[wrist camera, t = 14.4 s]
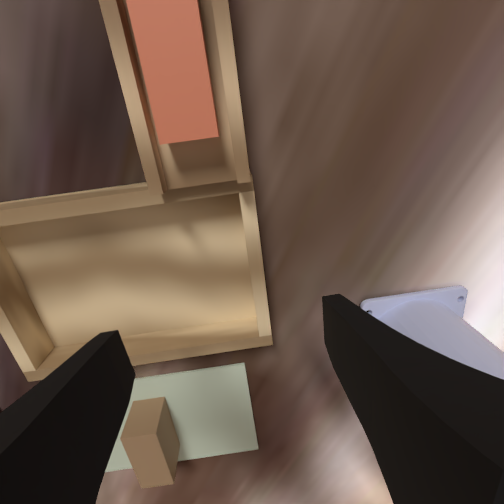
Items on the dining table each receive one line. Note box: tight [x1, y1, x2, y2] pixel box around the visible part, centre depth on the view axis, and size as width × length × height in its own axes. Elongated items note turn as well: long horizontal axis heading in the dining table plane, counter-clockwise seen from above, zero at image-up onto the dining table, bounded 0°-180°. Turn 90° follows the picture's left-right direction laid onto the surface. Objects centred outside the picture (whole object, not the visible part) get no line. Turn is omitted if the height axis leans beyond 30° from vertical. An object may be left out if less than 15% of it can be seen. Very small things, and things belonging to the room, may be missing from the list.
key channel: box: [99, 0, 251, 196], centre depth 13 cm, size 13×5×5 cm, turn 7°
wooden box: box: [0, 170, 273, 382], centre depth 19 cm, size 11×16×3 cm
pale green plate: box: [105, 363, 258, 489], centre depth 24 cm, size 10×15×4 cm
